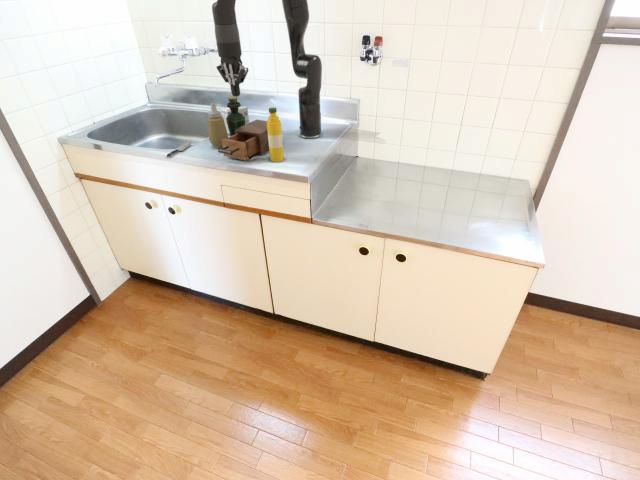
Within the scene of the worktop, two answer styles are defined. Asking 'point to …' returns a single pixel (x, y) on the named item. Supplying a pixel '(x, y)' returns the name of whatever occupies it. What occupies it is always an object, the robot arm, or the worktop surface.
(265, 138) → the cabinet
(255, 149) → the drawer
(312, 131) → the robot arm
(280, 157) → the lemon bottle
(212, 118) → the squeeze bottle
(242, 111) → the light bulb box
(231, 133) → the potion bottle
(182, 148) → the chef's knife
